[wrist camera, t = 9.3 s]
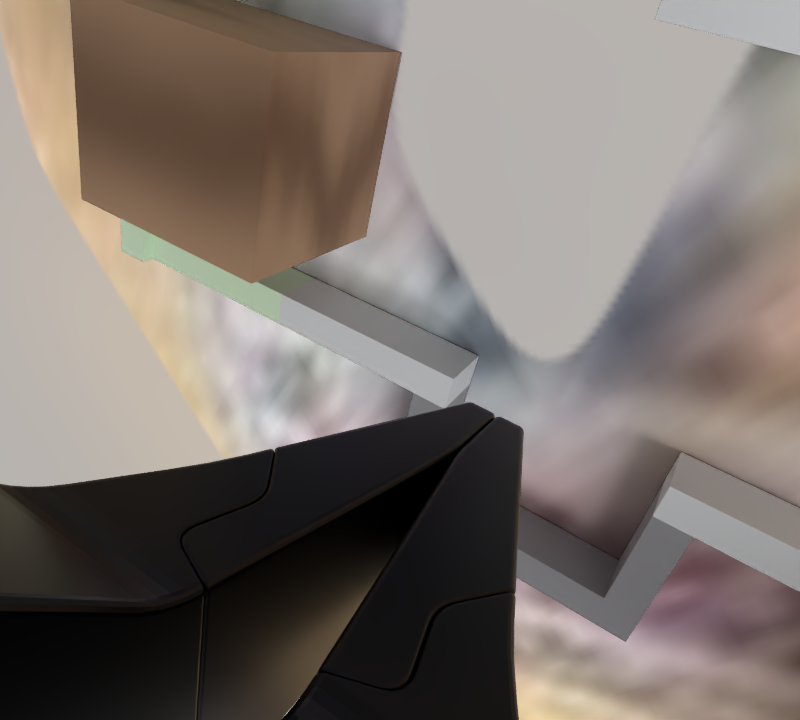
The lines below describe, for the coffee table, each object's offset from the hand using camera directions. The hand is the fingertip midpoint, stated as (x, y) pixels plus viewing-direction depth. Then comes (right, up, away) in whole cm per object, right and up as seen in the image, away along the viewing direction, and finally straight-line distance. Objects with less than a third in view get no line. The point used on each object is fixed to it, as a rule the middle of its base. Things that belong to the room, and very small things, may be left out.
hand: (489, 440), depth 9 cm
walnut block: (-5, +9, +13) cm, 17 cm away
